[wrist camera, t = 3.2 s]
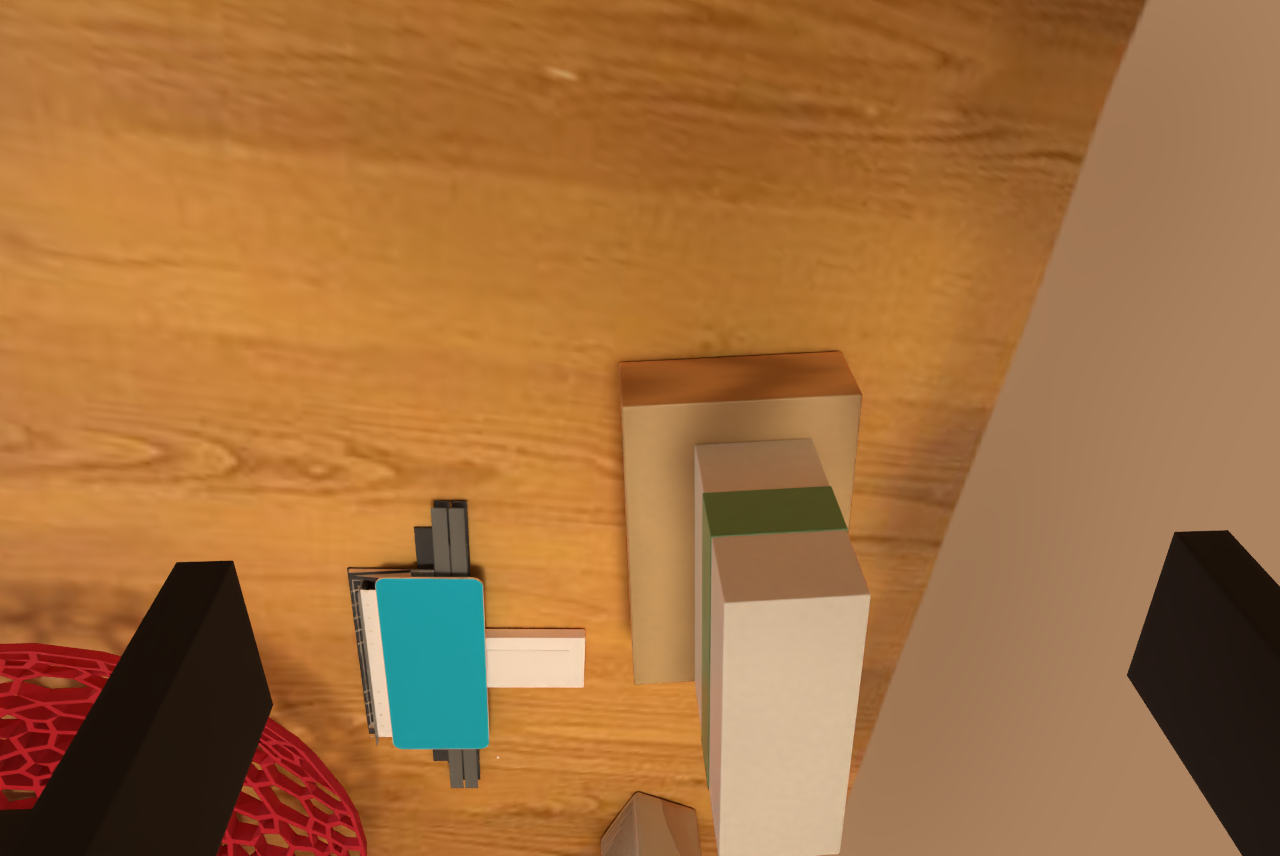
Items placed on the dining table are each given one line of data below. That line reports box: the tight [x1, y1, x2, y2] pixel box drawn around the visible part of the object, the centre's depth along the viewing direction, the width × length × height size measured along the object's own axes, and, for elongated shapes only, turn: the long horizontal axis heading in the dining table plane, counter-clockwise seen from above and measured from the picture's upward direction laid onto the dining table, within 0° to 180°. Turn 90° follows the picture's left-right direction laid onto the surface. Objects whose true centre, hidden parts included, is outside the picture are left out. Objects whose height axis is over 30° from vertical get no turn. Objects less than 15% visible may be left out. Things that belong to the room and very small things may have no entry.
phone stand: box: [347, 501, 585, 788], centre depth 52 cm, size 20×12×2 cm, turn 177°
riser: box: [619, 351, 862, 685], centre depth 46 cm, size 10×16×4 cm, turn 2°
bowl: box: [0, 643, 367, 856], centre depth 54 cm, size 29×30×5 cm
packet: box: [695, 439, 871, 856], centre depth 41 cm, size 14×5×10 cm, turn 2°
